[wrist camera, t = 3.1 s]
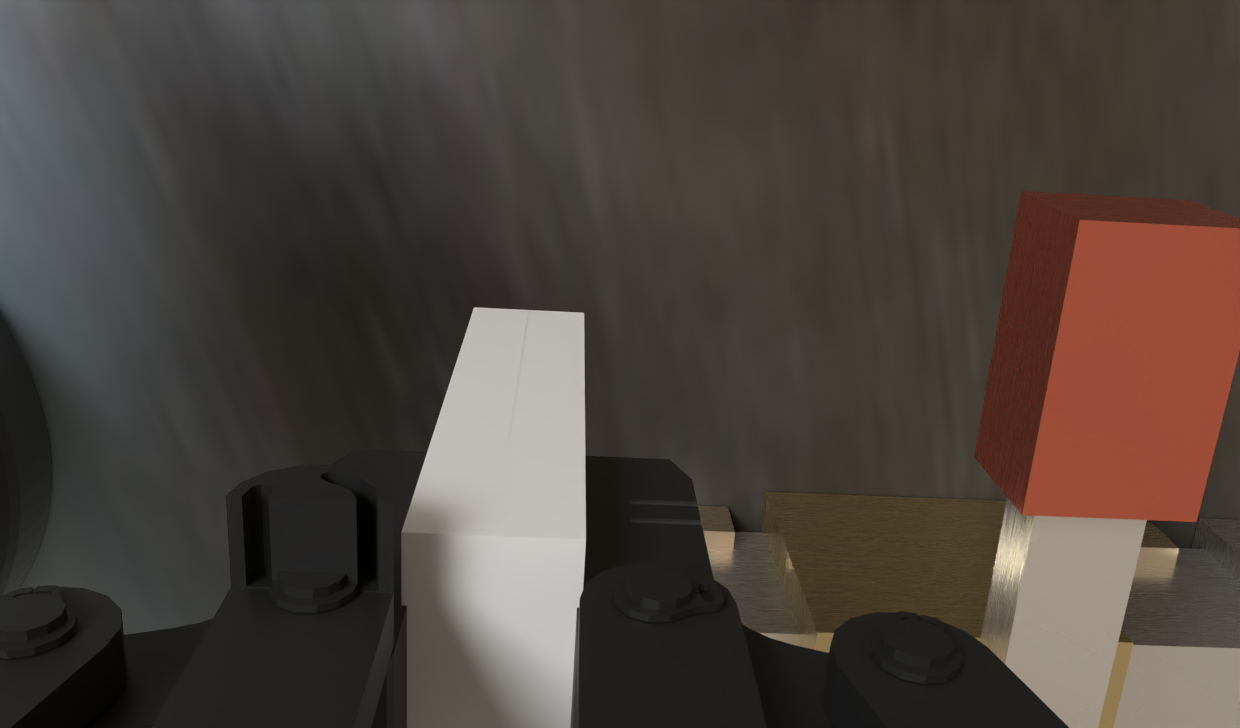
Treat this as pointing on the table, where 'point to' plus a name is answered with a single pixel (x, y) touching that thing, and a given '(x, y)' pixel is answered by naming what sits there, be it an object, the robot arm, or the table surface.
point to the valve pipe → (985, 590)
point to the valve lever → (1099, 419)
